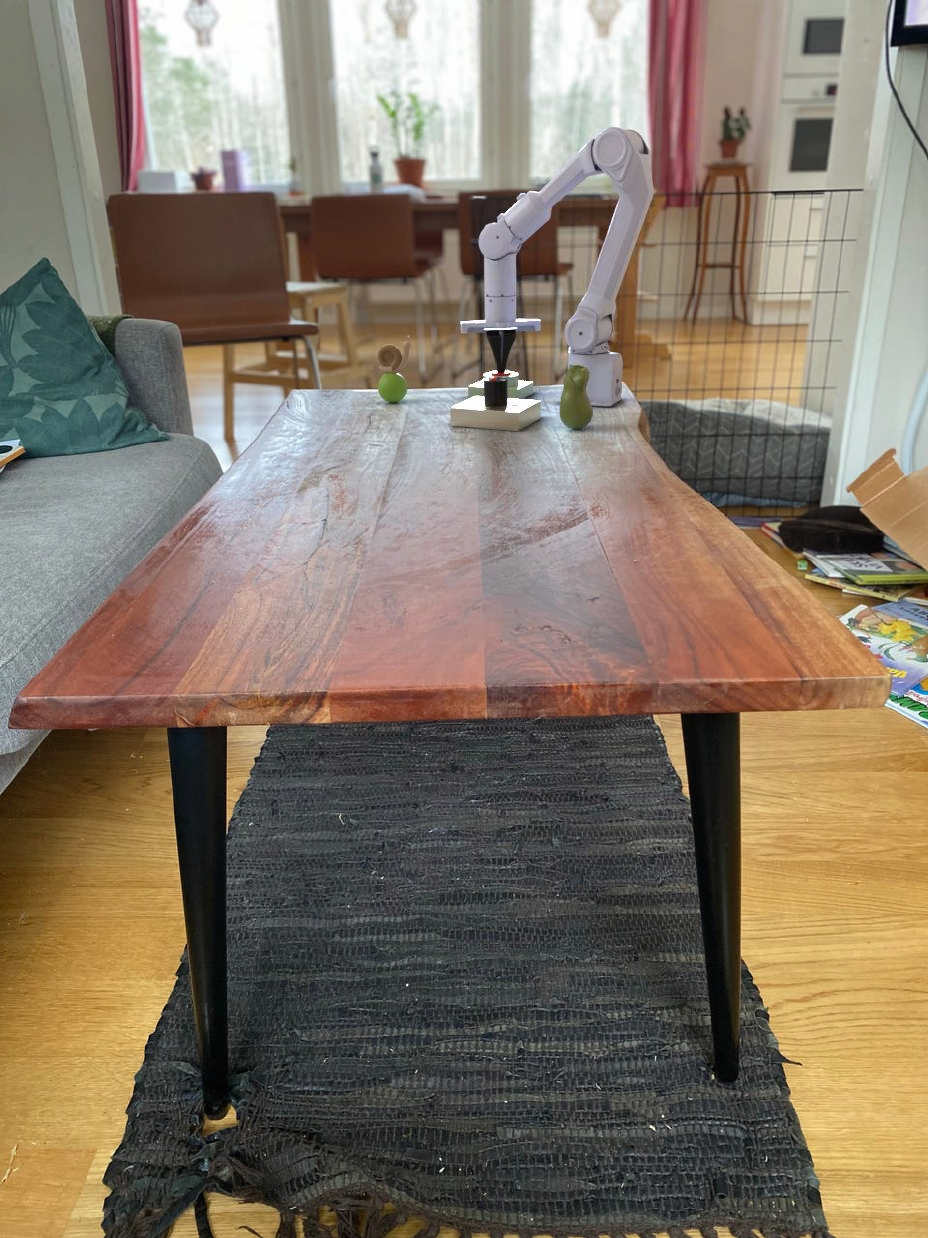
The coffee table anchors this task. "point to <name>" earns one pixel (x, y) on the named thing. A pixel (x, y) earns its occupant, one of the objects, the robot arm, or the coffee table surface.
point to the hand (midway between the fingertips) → (500, 372)
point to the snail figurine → (393, 372)
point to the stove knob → (495, 391)
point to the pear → (575, 398)
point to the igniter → (514, 387)
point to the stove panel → (495, 414)
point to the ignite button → (495, 373)
